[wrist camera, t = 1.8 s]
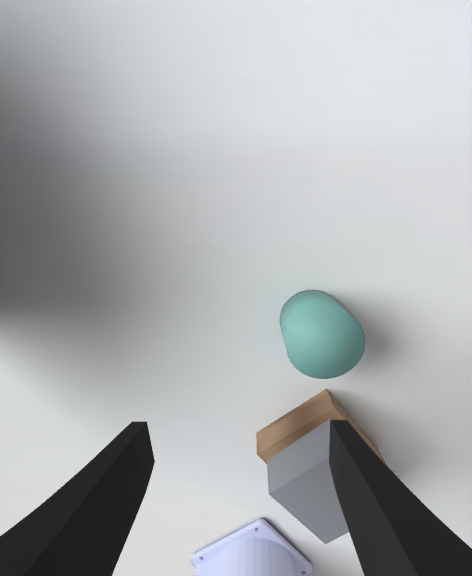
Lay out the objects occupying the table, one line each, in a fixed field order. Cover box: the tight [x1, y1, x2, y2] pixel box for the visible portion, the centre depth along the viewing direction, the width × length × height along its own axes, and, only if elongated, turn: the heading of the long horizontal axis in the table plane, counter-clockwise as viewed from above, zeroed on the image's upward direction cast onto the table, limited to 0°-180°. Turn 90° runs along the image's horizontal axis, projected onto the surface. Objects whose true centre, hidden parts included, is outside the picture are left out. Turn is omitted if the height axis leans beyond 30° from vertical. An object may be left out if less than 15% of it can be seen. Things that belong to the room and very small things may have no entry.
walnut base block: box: [257, 389, 386, 464], centre depth 20 cm, size 7×7×2 cm
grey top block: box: [267, 418, 349, 544], centre depth 18 cm, size 6×6×2 cm
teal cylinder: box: [280, 290, 365, 379], centre depth 16 cm, size 4×4×4 cm
